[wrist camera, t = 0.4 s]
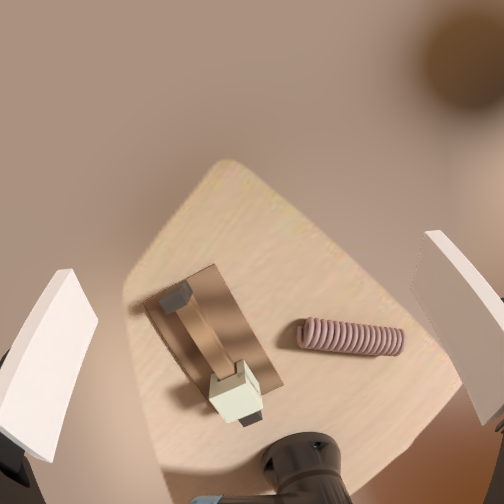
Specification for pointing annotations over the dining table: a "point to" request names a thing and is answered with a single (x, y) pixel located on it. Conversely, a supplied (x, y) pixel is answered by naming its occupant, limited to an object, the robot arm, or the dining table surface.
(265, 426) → the dining table surface
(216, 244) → the dining table surface
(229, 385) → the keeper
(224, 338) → the track
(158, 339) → the dining table surface
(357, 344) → the coil
